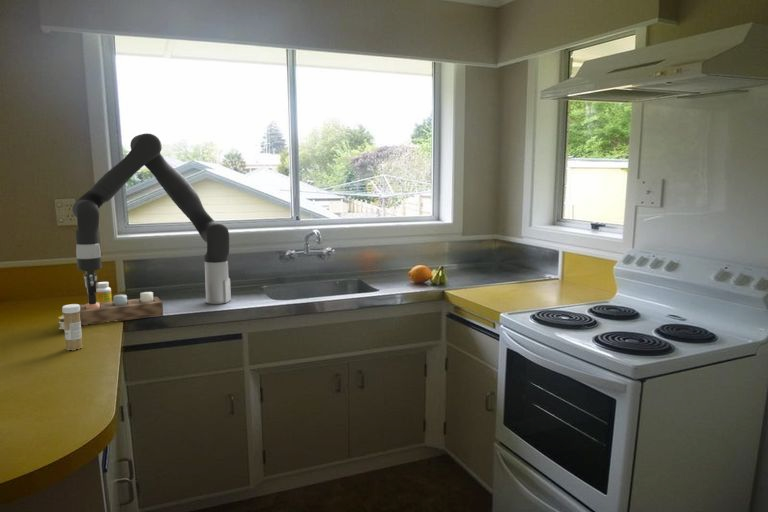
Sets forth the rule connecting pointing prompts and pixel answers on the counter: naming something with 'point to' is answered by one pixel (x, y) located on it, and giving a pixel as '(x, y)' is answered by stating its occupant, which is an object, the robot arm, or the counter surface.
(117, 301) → the blue-grey egg
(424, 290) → the counter surface
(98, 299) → the supplement bottle
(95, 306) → the brown egg
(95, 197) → the robot arm
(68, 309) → the sprinkles bottle
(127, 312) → the button panel
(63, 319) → the stacked layers on plate
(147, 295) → the cream button
